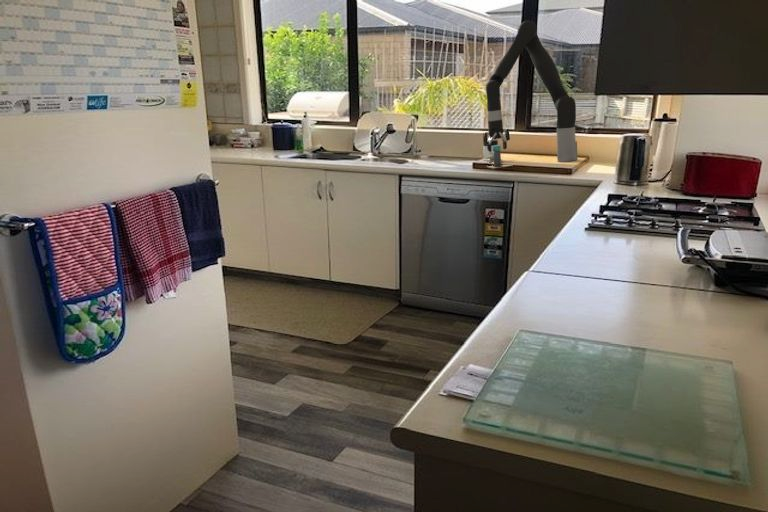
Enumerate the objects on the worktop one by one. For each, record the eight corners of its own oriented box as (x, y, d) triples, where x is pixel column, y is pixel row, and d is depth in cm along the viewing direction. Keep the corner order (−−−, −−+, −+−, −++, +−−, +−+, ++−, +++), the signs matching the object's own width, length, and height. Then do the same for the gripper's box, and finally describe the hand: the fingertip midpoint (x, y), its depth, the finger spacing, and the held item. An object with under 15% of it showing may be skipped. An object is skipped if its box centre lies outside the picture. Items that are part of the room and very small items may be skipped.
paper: (506, 163, 325) (506, 163, 325) (514, 165, 316) (514, 164, 316) (486, 166, 322) (486, 166, 322) (493, 168, 314) (493, 167, 314)
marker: (499, 165, 320) (498, 145, 317) (502, 165, 316) (501, 145, 313) (492, 166, 319) (491, 146, 316) (495, 167, 315) (494, 146, 312)
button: (494, 159, 331) (494, 154, 330) (498, 160, 326) (498, 155, 326) (486, 160, 330) (486, 155, 329) (490, 161, 325) (490, 156, 325)
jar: (486, 163, 336) (484, 142, 332) (482, 161, 343) (480, 140, 340) (501, 161, 337) (500, 140, 333) (496, 159, 344) (495, 139, 341)
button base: (495, 162, 333) (495, 158, 332) (501, 164, 326) (501, 159, 326) (484, 164, 331) (484, 160, 330) (489, 165, 325) (489, 161, 324)
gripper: (485, 121, 306) (488, 152, 310) (510, 117, 309) (512, 148, 314) (479, 121, 313) (482, 151, 317) (504, 117, 316) (506, 147, 321)
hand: (497, 150), depth 315 cm, fingers open, 8 cm apart
